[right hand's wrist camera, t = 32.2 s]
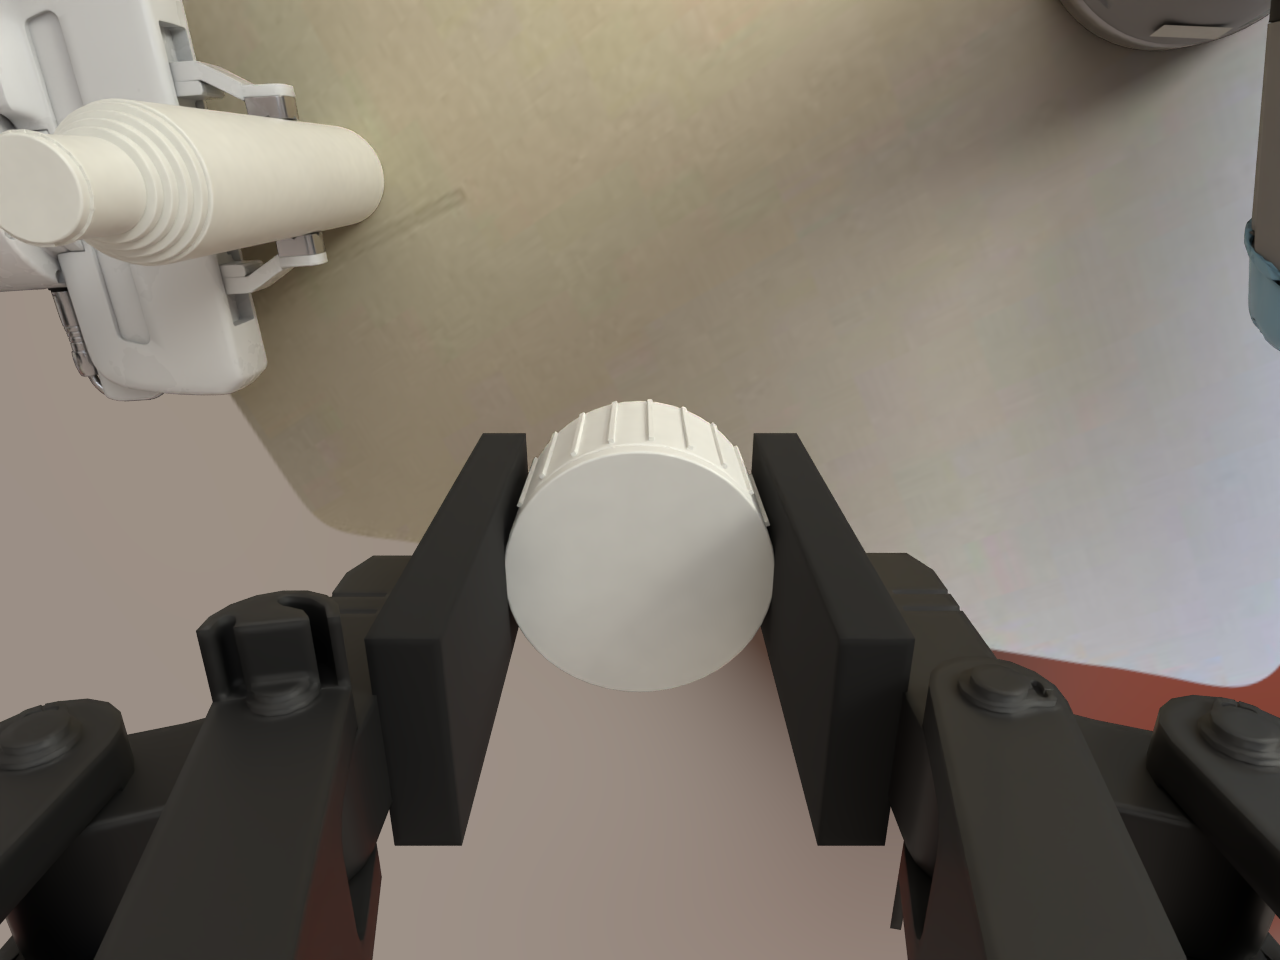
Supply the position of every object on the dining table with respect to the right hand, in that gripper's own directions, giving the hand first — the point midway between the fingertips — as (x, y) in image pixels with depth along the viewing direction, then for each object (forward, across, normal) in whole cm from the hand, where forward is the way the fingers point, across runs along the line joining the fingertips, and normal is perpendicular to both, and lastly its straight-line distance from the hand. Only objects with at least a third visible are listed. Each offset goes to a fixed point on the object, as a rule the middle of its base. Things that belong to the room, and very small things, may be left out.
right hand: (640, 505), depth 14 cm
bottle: (+34, +17, -5) cm, 39 cm away
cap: (0, 0, 0) cm, 0 cm away
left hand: (+28, +16, -5) cm, 32 cm away
